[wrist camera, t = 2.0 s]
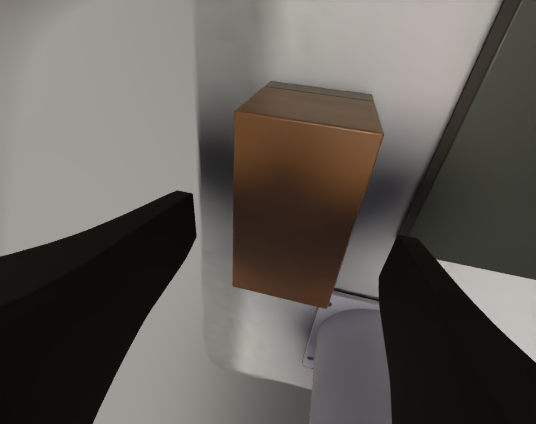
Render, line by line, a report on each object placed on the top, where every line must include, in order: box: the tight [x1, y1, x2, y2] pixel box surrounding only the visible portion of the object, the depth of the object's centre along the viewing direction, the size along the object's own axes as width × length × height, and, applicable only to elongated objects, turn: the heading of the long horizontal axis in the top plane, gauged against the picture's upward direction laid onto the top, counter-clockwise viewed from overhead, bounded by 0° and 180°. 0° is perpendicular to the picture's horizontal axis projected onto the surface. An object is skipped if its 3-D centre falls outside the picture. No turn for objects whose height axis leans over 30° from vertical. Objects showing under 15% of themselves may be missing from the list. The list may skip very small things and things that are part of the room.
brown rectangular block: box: [233, 82, 384, 309], centre depth 12 cm, size 8×4×5 cm, turn 175°
